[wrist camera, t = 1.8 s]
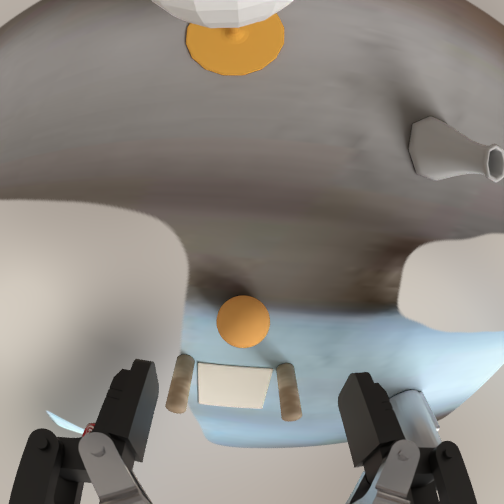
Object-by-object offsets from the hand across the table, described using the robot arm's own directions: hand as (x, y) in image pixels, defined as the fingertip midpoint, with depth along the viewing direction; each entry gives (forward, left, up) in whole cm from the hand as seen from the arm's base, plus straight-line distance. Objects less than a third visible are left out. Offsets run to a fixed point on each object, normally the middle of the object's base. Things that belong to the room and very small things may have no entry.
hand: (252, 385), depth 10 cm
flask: (-18, -12, -19) cm, 29 cm away
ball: (0, +9, -16) cm, 18 cm away
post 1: (+6, +19, -18) cm, 27 cm away
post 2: (-7, +19, -18) cm, 27 cm away
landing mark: (0, +24, -18) cm, 30 cm away
